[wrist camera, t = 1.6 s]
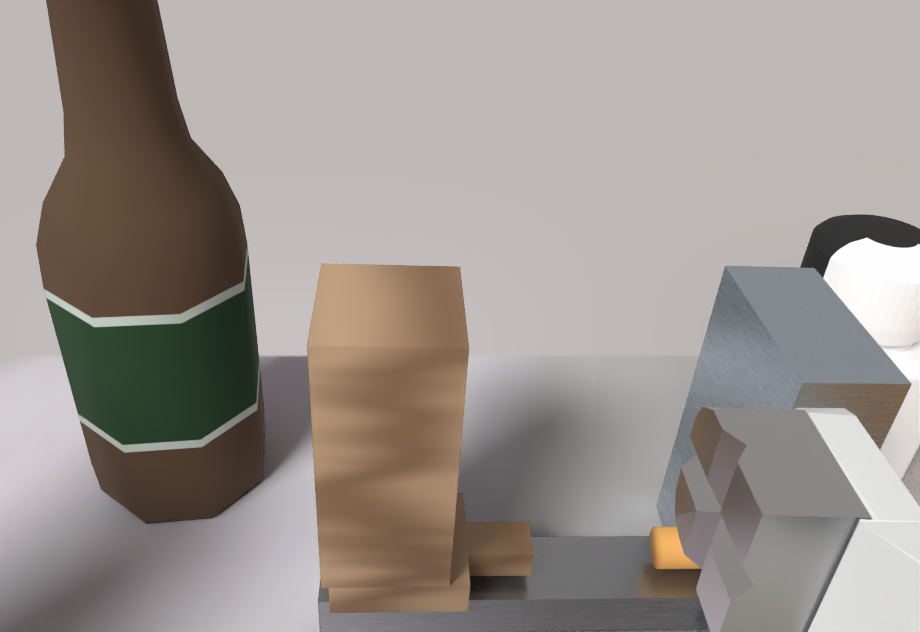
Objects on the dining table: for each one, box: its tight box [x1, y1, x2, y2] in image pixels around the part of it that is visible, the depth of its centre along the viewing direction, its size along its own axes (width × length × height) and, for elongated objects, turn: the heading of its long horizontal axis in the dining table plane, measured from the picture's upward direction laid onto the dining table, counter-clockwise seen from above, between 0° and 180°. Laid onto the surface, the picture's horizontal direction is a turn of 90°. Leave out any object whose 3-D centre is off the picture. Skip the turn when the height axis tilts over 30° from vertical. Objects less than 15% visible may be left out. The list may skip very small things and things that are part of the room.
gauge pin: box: [649, 527, 701, 569], centre depth 31 cm, size 5×2×2 cm, turn 93°
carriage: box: [307, 264, 534, 613], centre depth 27 cm, size 8×4×12 cm, turn 93°
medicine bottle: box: [800, 215, 920, 481], centre depth 39 cm, size 7×7×12 cm
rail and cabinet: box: [318, 266, 912, 632], centre depth 30 cm, size 18×7×13 cm, turn 93°
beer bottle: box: [36, 0, 265, 524], centre depth 31 cm, size 8×8×24 cm
